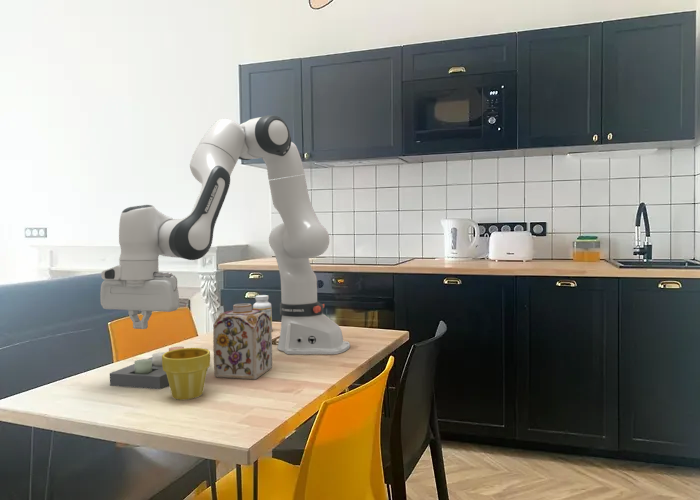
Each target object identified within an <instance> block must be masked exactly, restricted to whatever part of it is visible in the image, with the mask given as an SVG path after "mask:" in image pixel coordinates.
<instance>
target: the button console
mask: <svg viewBox="0 0 700 500" xmlns="http://www.w3.org/2000/svg"><path fill="white" fill-rule="evenodd" d="M147 359H151V360H152V372H151V373H148V374H146V375H145V374H135V364H134V363H133V364H131V365H128V366H125V367H122V368H120V369H117V370H114V371H113V372H109V386H113V387H121V388H123V387H126V388H135V389H136V388H138V389H150V390H151V389H152V390H162V389H164V388H165V387H166V388H167V387H168V386H169V382H168V378H167V374H166V372H165V371H164V370H163V367H155V366H153V359H152V356H151V357H148V358H147Z"/></svg>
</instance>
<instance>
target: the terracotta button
mask: <svg viewBox="0 0 700 500" xmlns="http://www.w3.org/2000/svg"><path fill="white" fill-rule="evenodd" d="M182 348H185V347H184V346H172V347H169V348H168V351H171V350H176V349H182Z"/></svg>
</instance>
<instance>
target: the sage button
mask: <svg viewBox="0 0 700 500" xmlns="http://www.w3.org/2000/svg"><path fill="white" fill-rule="evenodd" d="M133 364H135V374H145V375H146V374H148V373H151V372H152V360H151V359H148V358H143V359H136V360H135V361H134V363H133Z"/></svg>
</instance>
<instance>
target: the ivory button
mask: <svg viewBox="0 0 700 500" xmlns="http://www.w3.org/2000/svg"><path fill="white" fill-rule="evenodd" d="M164 353H165V352H156V353H153V354H152V355H151V357H152V359H153V366H155V367H163V366H162V355H163V354H164Z"/></svg>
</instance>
